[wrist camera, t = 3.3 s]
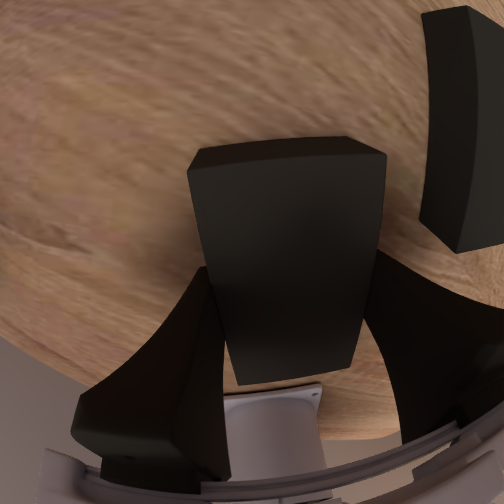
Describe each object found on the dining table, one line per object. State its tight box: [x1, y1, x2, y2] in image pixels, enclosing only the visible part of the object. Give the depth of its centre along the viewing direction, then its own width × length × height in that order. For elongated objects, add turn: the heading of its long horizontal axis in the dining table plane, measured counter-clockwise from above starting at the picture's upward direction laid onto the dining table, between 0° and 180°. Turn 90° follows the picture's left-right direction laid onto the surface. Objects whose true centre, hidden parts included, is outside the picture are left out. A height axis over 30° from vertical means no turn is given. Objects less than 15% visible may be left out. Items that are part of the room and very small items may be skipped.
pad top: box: [187, 136, 387, 386], centre depth 11 cm, size 10×6×3 cm, turn 6°
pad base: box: [420, 5, 504, 254], centre depth 7 cm, size 10×6×3 cm, turn 6°
